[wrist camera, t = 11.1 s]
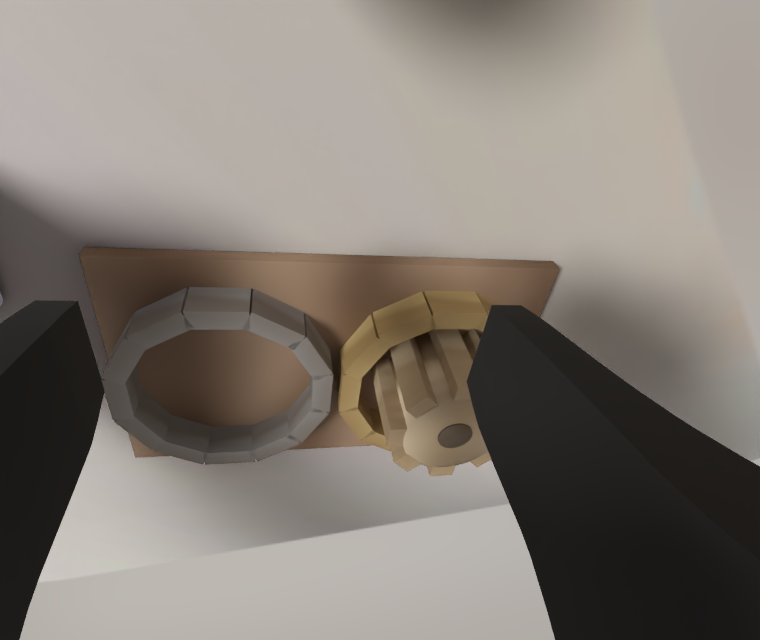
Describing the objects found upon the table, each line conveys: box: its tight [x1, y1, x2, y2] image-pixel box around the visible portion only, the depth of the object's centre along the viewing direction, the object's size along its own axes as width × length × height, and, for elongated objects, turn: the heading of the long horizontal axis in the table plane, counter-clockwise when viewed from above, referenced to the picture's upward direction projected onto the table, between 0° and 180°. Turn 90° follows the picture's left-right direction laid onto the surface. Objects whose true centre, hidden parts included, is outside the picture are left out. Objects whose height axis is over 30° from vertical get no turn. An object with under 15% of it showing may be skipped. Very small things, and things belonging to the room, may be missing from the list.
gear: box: [372, 329, 491, 476], centre depth 21 cm, size 5×5×4 cm
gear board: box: [79, 247, 559, 464], centre depth 21 cm, size 18×11×2 cm, turn 83°
